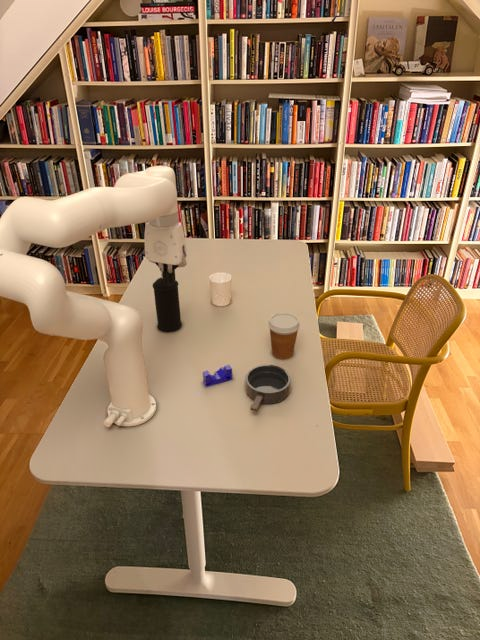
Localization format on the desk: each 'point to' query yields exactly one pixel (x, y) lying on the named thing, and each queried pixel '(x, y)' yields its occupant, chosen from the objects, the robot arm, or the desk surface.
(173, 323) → the aerosol can
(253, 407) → the pan handle
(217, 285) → the white cup
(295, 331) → the disposable coffee cup
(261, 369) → the pan
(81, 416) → the desk surface
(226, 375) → the cable holder
